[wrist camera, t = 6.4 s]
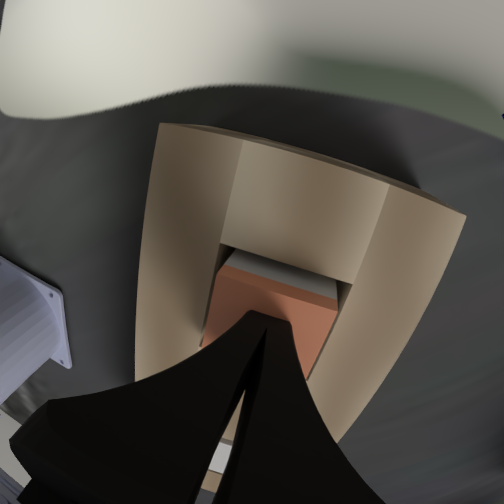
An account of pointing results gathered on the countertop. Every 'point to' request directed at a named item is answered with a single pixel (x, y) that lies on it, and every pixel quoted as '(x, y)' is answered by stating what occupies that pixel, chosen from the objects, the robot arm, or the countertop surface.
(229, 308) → the orange block
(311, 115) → the countertop surface
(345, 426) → the button block
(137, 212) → the countertop surface
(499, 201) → the countertop surface
